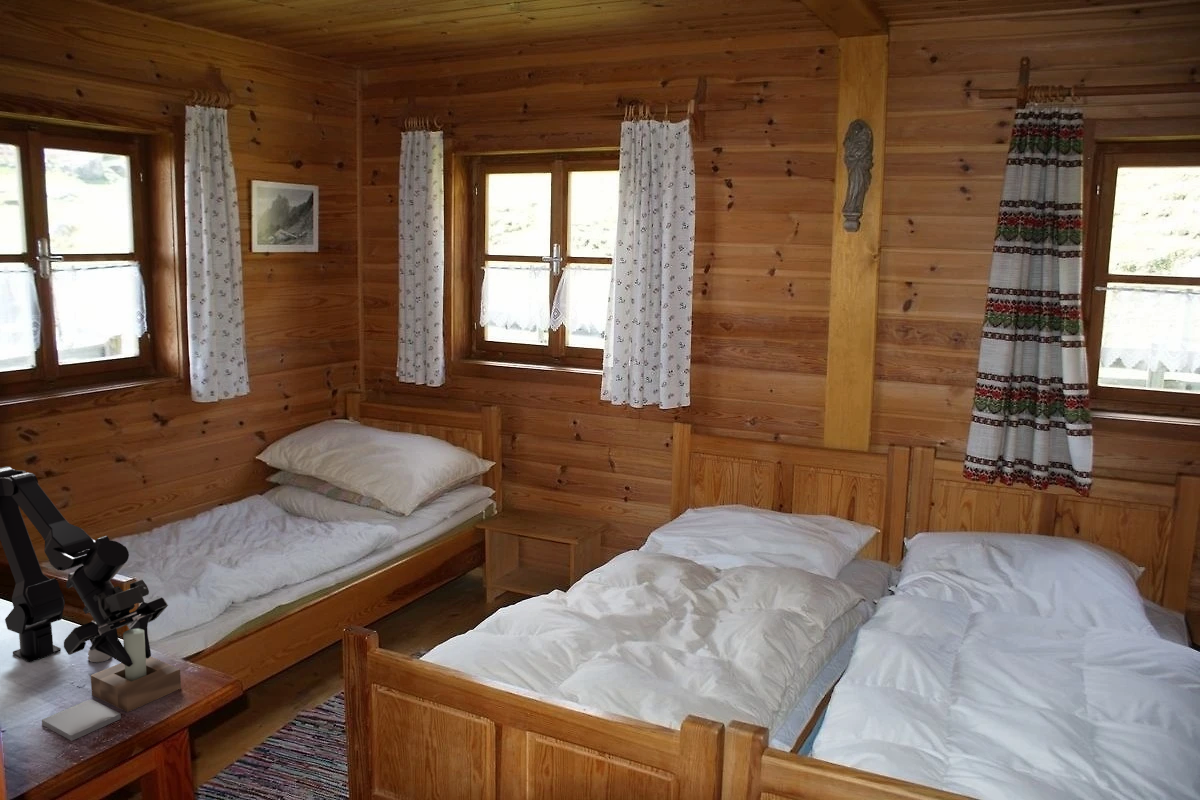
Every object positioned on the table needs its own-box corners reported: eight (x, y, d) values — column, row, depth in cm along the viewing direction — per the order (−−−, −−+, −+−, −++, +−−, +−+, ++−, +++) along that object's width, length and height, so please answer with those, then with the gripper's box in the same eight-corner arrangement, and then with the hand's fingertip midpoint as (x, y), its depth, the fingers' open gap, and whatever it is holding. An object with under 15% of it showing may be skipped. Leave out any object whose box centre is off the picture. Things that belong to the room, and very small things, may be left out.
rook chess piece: (102, 664, 192) (100, 627, 191) (82, 661, 193) (80, 624, 192) (117, 654, 197) (115, 618, 195) (98, 652, 198) (96, 615, 196)
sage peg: (122, 692, 182) (118, 633, 180) (139, 685, 185) (136, 626, 183) (134, 698, 180) (130, 638, 178) (151, 690, 183) (148, 631, 181)
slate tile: (42, 724, 170) (41, 719, 170) (91, 703, 178) (90, 698, 177) (71, 740, 165) (71, 735, 165) (120, 718, 173) (120, 713, 173)
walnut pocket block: (91, 694, 181) (90, 675, 180) (145, 672, 190) (144, 653, 189) (127, 712, 175) (126, 692, 175) (180, 688, 185) (180, 669, 184)
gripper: (69, 587, 172) (114, 660, 169) (159, 556, 188) (201, 622, 185) (44, 618, 177) (87, 689, 174) (133, 585, 193) (174, 650, 190)
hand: (140, 661), depth 181 cm, fingers closed on sage peg, 4 cm apart
